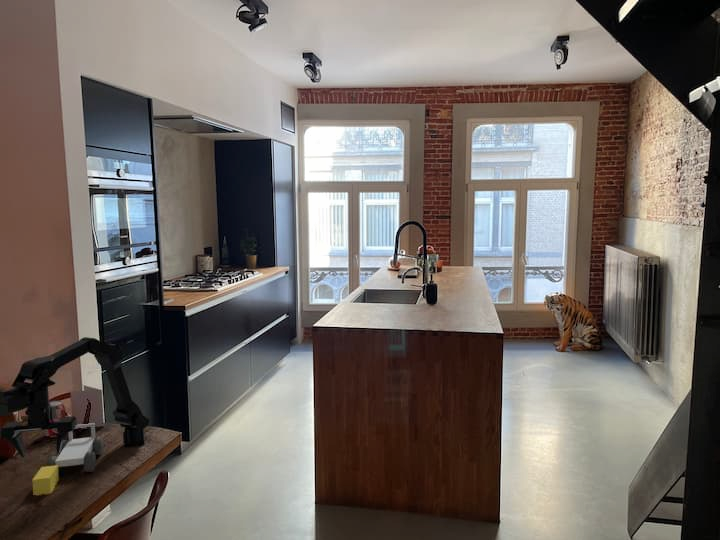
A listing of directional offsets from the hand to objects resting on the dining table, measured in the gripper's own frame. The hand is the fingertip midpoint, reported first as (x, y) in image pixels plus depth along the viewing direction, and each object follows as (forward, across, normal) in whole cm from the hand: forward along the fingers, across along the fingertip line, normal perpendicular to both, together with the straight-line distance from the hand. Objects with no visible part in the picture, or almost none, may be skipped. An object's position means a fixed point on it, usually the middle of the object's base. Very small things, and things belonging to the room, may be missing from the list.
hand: (41, 454), depth 151 cm
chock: (+11, 0, -2) cm, 12 cm away
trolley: (+11, -5, -16) cm, 20 cm away
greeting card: (+11, -1, -48) cm, 49 cm away
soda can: (+11, +9, -44) cm, 46 cm away
